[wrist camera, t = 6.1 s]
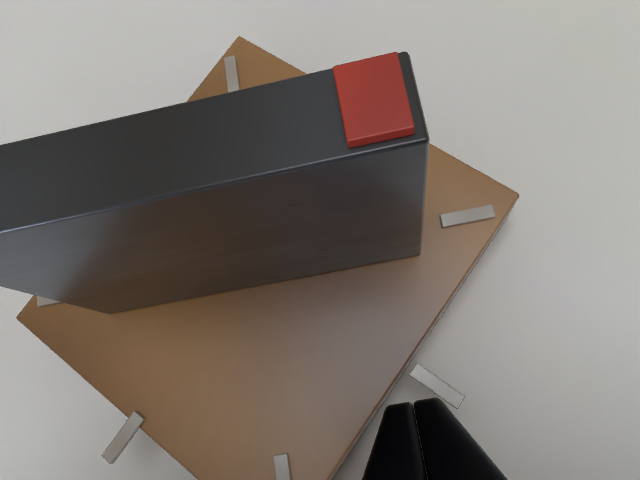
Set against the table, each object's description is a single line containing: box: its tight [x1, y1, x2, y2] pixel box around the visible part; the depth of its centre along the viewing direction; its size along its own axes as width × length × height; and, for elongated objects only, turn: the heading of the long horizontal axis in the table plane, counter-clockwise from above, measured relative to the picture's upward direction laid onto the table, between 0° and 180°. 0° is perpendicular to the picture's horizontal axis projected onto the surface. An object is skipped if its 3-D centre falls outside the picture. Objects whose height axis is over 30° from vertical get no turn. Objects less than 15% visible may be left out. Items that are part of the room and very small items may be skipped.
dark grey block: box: [0, 52, 429, 314], centre depth 12 cm, size 9×2×7 cm, turn 99°
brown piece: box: [17, 36, 519, 480], centre depth 16 cm, size 13×13×2 cm
